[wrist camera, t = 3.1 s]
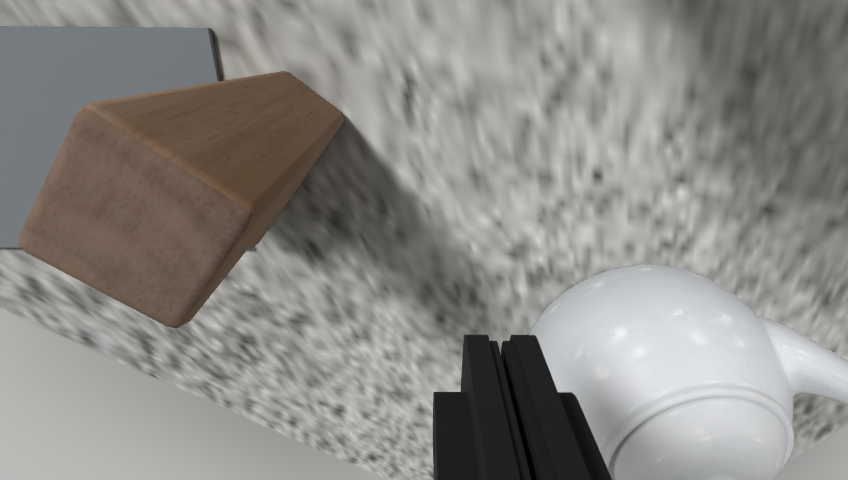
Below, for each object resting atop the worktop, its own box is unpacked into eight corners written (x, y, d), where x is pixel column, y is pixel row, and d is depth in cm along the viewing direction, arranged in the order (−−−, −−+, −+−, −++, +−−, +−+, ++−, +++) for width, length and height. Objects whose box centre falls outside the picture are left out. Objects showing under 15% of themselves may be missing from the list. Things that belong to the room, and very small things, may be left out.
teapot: (546, 222, 30) (630, 354, 18) (784, 270, 32) (1006, 420, 20) (476, 412, 38) (501, 592, 26) (669, 442, 40) (777, 624, 28)
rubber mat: (210, 28, 25) (207, 28, 25) (251, 246, 31) (249, 249, 31) (-160, 24, 25) (-168, 24, 24) (-45, 244, 31) (-51, 247, 31)
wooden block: (273, 223, 30) (109, 438, 13) (212, 184, 28) (-53, 368, 12) (348, 115, 27) (260, 215, 11) (285, 67, 26) (74, 96, 9)
